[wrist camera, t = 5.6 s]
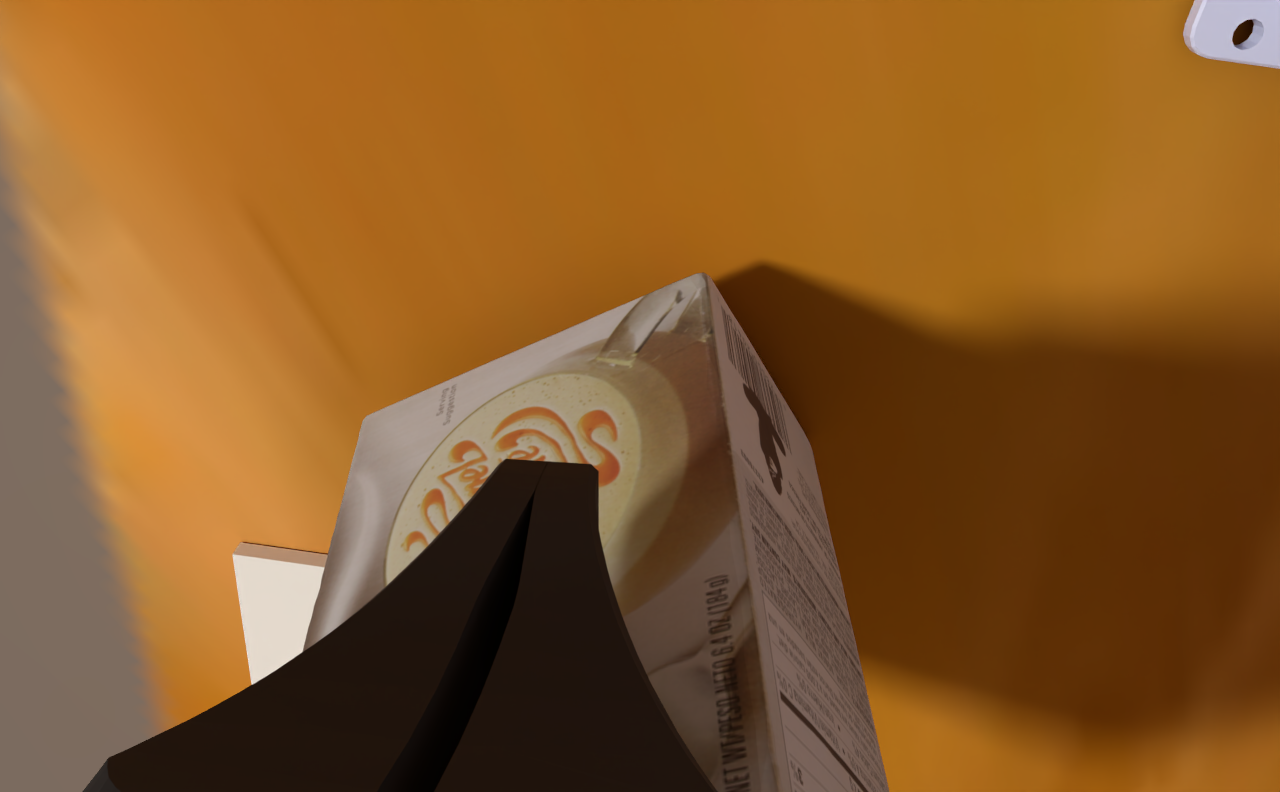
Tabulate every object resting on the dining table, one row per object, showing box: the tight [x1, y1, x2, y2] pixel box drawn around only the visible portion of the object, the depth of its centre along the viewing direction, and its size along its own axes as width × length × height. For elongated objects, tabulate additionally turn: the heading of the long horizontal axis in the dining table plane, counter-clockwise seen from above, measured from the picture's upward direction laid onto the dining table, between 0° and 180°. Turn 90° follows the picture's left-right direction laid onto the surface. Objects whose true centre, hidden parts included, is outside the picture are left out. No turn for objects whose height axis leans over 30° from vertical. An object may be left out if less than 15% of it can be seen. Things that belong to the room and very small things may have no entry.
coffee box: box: [303, 273, 889, 792], centre depth 17 cm, size 9×6×16 cm
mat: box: [233, 542, 328, 684], centre depth 31 cm, size 16×18×1 cm
